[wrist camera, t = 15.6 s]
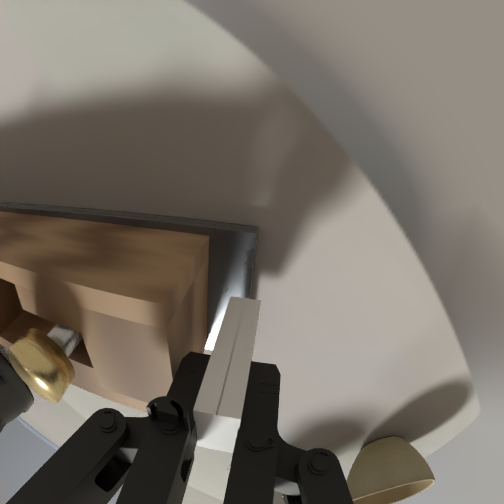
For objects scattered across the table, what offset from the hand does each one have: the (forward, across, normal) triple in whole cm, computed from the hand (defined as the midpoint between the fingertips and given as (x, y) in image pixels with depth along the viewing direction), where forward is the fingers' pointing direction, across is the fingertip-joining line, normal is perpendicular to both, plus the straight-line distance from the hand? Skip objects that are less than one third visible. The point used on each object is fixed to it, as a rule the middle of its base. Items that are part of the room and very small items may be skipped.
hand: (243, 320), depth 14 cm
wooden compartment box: (+1, -14, 0) cm, 14 cm away
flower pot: (+3, +17, -19) cm, 25 cm away
